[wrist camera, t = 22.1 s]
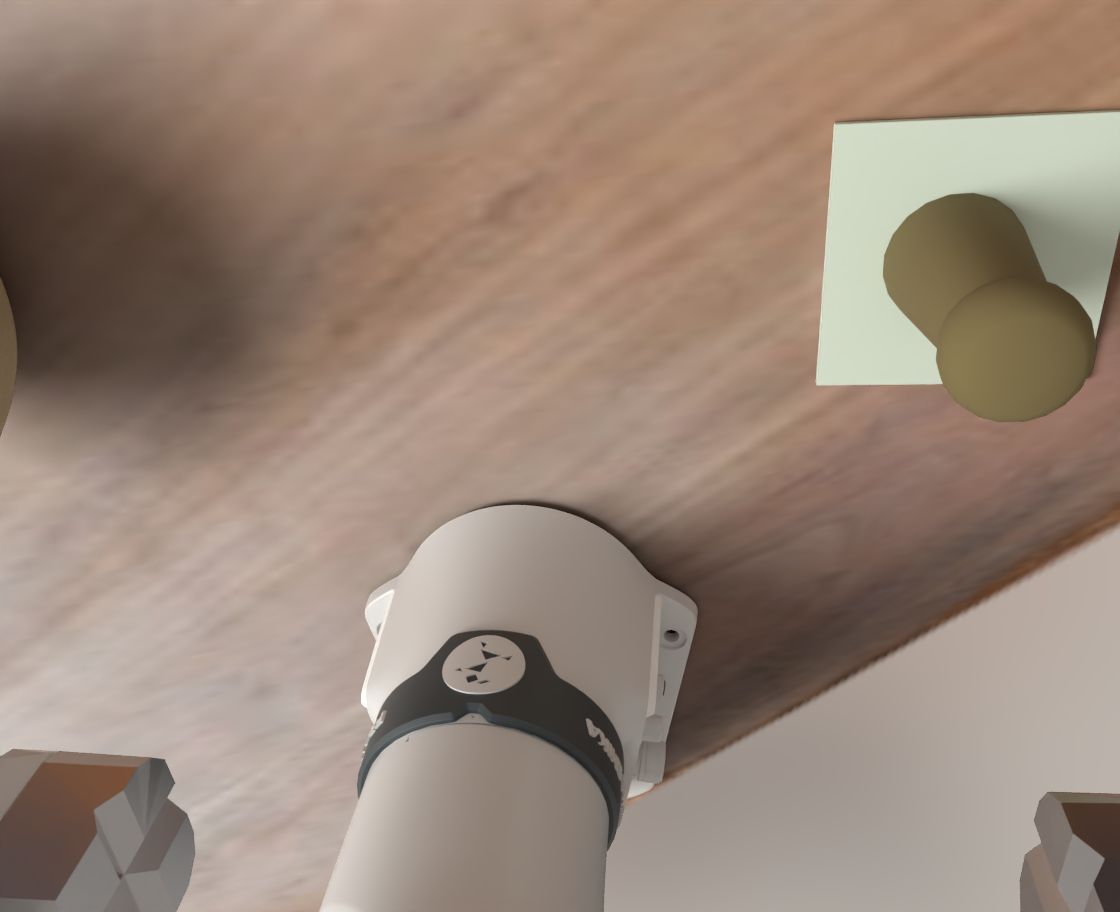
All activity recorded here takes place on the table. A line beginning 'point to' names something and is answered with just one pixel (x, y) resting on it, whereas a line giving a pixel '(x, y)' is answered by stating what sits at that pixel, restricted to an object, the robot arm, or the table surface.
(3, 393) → the cream bowl
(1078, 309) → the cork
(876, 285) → the mat
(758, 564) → the table surface
